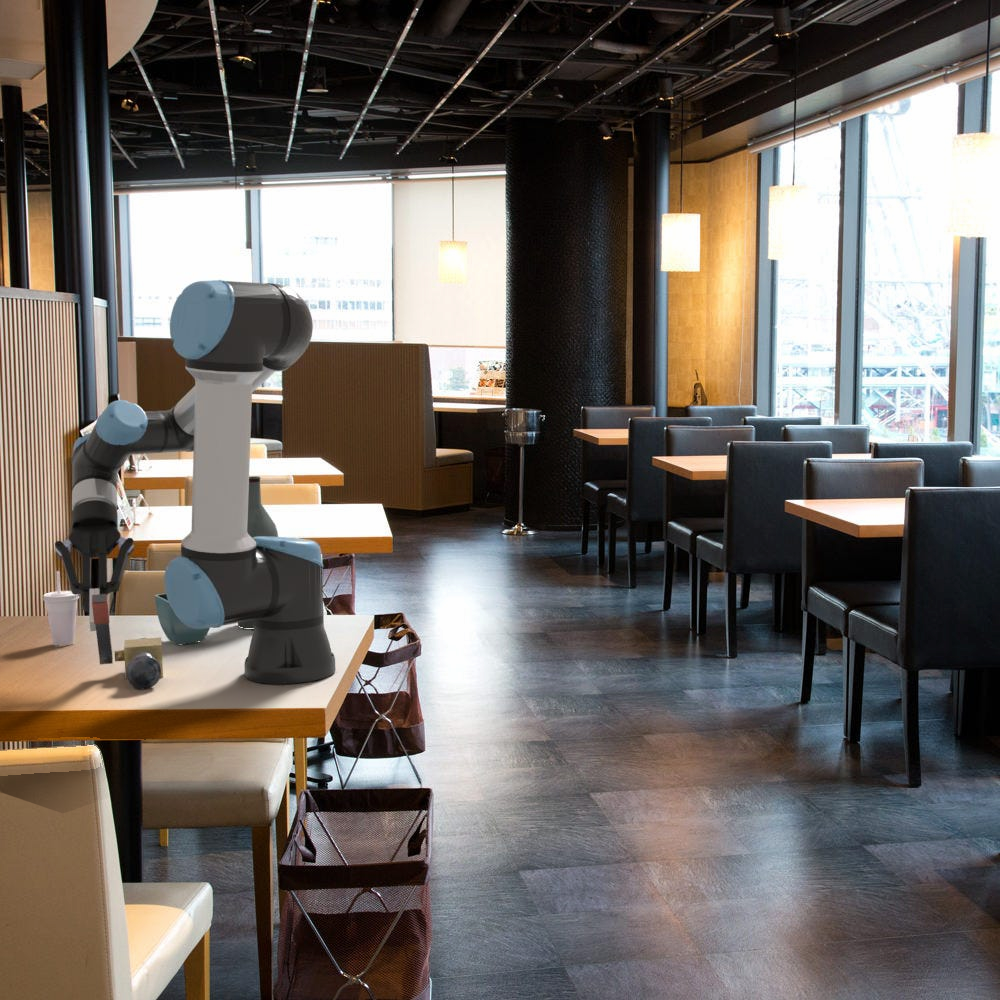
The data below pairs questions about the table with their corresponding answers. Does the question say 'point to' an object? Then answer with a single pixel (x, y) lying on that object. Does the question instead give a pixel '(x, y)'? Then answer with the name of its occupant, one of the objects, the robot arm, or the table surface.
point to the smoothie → (61, 614)
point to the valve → (142, 661)
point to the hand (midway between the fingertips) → (95, 626)
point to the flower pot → (176, 624)
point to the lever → (102, 627)
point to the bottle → (257, 522)
